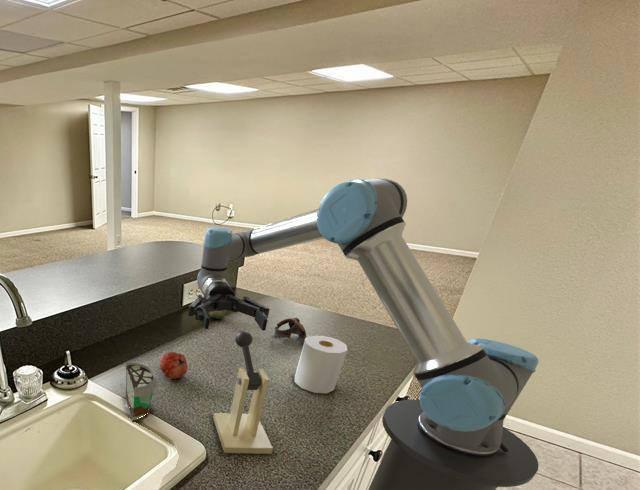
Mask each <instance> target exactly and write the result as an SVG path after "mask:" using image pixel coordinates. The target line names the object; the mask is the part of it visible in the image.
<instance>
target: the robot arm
mask: <svg viewBox="0 0 640 490" xmlns="http://www.w3.org/2000/svg"><path fill="white" fill-rule="evenodd" d="M407 207H408V196H407V192H406V190H405V189H404V187H403V186H402V185H401V184H400V183H398V182H397V181H395V180H392V179H390V178H374V179H373V178H371V179H362V178H355V179H351V180H347V181H344V182H340V183H339V184H337V185H336V186H333V187H332V188H331V189H330V190H329V191H328V192H327V193H326V194H325V195H324V197H322V199H321V200H320V203H319V205H318V208H316V209H313V210H310V211H307V212H304V213H300V214H297V215H293V216H291V217H287V218H283V219H280V220H277V221H274V222H272V223H271V222H270V223H267V224H264V225H261V226H258V227H255V228H251V229H248V230H244V231H239V232H234V233H233V231H232V230H231V229H230V228H226V227H214V226H213V227H210V228H207V230H206V231H205V236H204V241H203V249H202V257H201V265H200V270H199V272H198V273H197V277H196V281H197V282H196V283H197V286H198V289H199V291H201V293H202V295H201V294H197V297H196V298H195V300H193V301H192V303H190V305H188V313H187V316H189V317H193V316H195V317H194V318H195V321H201V323H202V325H203V328H204V330H209V326H210V319H211V317H210V316H209V312H211V311H212V312H214V311H215V310H216V311H223V310H226V311H229V312H233V313H241V314H243V315H247V316H249V317H252V318H254V321H255V322H256V324H257V325H258V327H259V329H260V330H261V331H266V329H267V325H268V318H269V314H270V309H271V308H270V307H267V306H266V305H263V304H262V303H259V302H257V301H255V300H253V299H251V298H250V297H249V296H246V295H245V296H243V298H239V297H237V296H236V295H235V291H234V290H233V289H232V286H231V285H230V284H229V283H228V281H227V280H226V277H227V269H228V264H229V261H233V260H238V259H243V258H249V257H253V256H256V255H260V254H264V253H268V252H271V251H272V252H273V251H277V250H280V249H281V250H282V249H285V248H289V247H294V246H297V245H301V244H302V245H303V244H306V243H309V242H315V241H318V240H322V239H325V240H326V241H327V242H328V241H329V242H331V243H333V244H337V245H338V247H339V248H340V250H341V252H342V254H343V255H344V257H345V258H346V259H349V260H353V261H356V262H358V264H359V265H360V267H361V269H362V271H363V273H364V274H365V276H366V278H367V279H368V281H369V283H370V284H371V287H372V288H373V289H374V291H375V293H376V295H377V296H378V298H379V300H380V301H381V304H382V305H383V306H384V308H385V310H386V312H387V313H388V315H389V317H390V318H391V320H392V322H393V323H394V325H395V326H396V329H397V331H398V332H399V334H400V336H401V337H402V339H403V341H404V342H405V344H406V346H407V347H408V349H409V352H410V353H411V354H412V356H413V357H414V359H415V362H416V365H415V366H414V368H413V372H412V373H413V375H414V376H415V378H416V380H417V382H418V384H419V386H420V387H421V390H420V393H419V400H420V405H421V408H422V410H423V413H422V414H421V415H420V417H419V419H418V421H417V426H418V428H419V430H420V431H421V432H422V433H423V434H424V435H425V436H426V437H427V438H428V439H430V440H431V441H433V442H434V443H436V444H438V445H440V446H441V447H444V448H446V449H448V450H450V451H453V452H456V453H459V454H462V455H466V456H472V457H490V456H493V455H495V454H496V453H497V451H498V449H499V448H501V449H502V450H503V451H504V452H508V451H509V450H508V449H507V448H506V447H505V446H504V445H503V444H502V443H501V441H502V431H503V427H504V422H505V421H504V420H505V419H506V417H507V415H508V414H509V412H510V410H512V407H513V406H514V404H515V403H516V402H517V399H518V398H519V396H520V394H521V393H522V391H523V390H524V388H525V386H526V385H527V384H528V382H529V380H530V379H531V376H532V375H533V374H534V373H535V372H537V371H536V369H537V367H538V365H539V358H538V357H537V356H536V355H535V354H534V353H532V352H530V351H528V350H525V349H523V348H520V347H518V346H515V345H512V344H508V343H505V342H502V341H498V340H492V339H489V338H488V339H487V338H471V339H469V340H468V341H467V339H466V338H465V335H463V333H462V332H461V329H460V328H459V326H458V325H457V323H456V321H455V320H454V318H453V317H452V316H451V314H450V312H449V310H448V309H447V307H446V305H445V304H444V302H443V300H442V298H441V297H440V296H439V294H438V293H437V291H436V289H435V287H434V286H433V284H432V282H431V281H430V279H429V278H428V276H427V275H426V273H425V271H424V269H423V268H422V266H421V265H420V263H419V261H418V260H417V258H416V257H415V255H414V253H413V252H412V250H411V249H410V247H409V245H408V244H407V242H406V240H405V239H404V237H403V232H404V230H405V228H406V222H405V220H404V218H403V217H404V215H405V214H406V210H407Z"/></svg>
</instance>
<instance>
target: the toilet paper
mask: <svg viewBox="0 0 640 490" xmlns="http://www.w3.org/2000/svg"><path fill="white" fill-rule="evenodd" d="M347 353H348V346H347V344H346V343H344V342H343V341H341V340H340V339H337V338H333V337H330V336H327V335H310V336H306V338H305V341H304V345H303V344H302V349H301V352H300V356H299V360H298V363H297V366H296V371H295V374H294V383H295V384H296V385H297V386H298V387H300V388H301V389H302V390H306V391H308V392H311V393H314V394H329V393H331V392H333V391H335V389H336V385H337V383H338V380H339V377H340V374H341V371H342V369H343V365H344V362H345V360H346V357H347Z"/></svg>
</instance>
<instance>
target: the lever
mask: <svg viewBox="0 0 640 490" xmlns="http://www.w3.org/2000/svg"><path fill="white" fill-rule="evenodd" d="M234 341H235V344H236V345H237V346H238V347H240V348H242V353H243V354H242V355H243V358H244V364H245V369H246V374H247V375H248V377H249V384H248V388H247V391H253V390H257V389H258V388H259V386H260V384H261V383H260V379H259V374H258V373H257V372H258V371H257V372H255V371H254V365H253V361H252V356H251V350H250V346H251V344H252V343H253V336H252V334H251V333H250V332H248V331H247V330H246V331H245V330H243V331H240V332H239V331H238V333H237V334H236V335H235V339H234Z"/></svg>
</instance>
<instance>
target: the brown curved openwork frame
mask: <svg viewBox="0 0 640 490" xmlns="http://www.w3.org/2000/svg"><path fill="white" fill-rule="evenodd" d="M287 324H288V327H289V328H286V329H279V328H281V327H282V326H284V325H287ZM274 330H275V331H274V335H273V336H274V337H275V338H278V339H285V338H287V339H289V340H291V335H292V334H293V335H297V336H298V339H301V340H302V346H303V345H304V341H305V338H307V331H306V329H305V326H304V325H303V324H302V323H301V321H300V319H299V318H298V317H294V318H293V317H291V318H290V317H289V318H285V319H283V320H280V321H279V322H278V323H276V326H275V327H274Z"/></svg>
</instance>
